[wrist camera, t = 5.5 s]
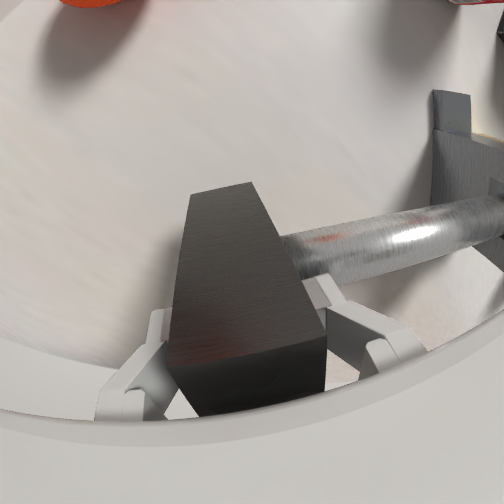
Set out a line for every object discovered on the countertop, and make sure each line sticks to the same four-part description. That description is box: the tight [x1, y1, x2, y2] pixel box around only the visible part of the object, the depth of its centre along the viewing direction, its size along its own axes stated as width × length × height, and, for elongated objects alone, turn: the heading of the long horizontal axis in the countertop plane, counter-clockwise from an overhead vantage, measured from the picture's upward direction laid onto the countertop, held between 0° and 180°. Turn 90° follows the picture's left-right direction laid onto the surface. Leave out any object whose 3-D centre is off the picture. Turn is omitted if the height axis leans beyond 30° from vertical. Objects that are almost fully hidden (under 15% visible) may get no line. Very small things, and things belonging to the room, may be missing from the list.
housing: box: [430, 89, 504, 272], centre depth 14 cm, size 4×14×12 cm, turn 9°
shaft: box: [166, 182, 504, 417], centre depth 11 cm, size 19×5×10 cm, turn 99°
